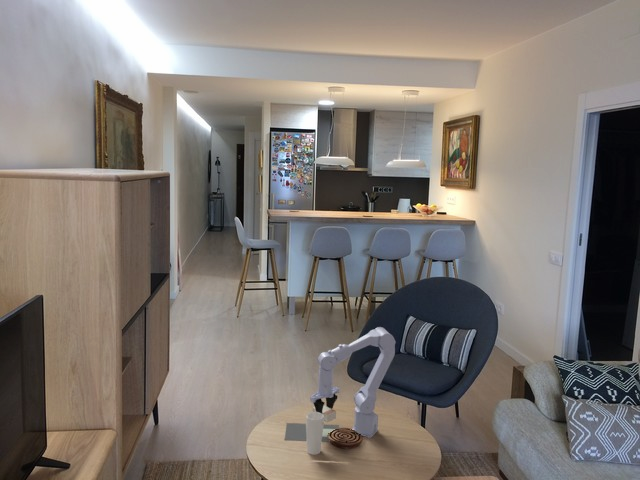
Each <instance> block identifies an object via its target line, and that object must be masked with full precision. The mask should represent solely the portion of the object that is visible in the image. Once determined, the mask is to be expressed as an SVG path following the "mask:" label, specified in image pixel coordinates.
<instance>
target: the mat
mask: <svg viewBox="0 0 640 480" xmlns="http://www.w3.org/2000/svg"><path fill="white" fill-rule="evenodd" d="M335 429H339V430H340V426H339V424H324V426H323V434H322V441H321V443H331V442H330V441H329V439H328V437H327V435H328V433H330V432H332V431H333V430H335ZM284 441H292V442H295V441H296V442H307V440H306V423H295V422H294V423H293V422H286V427H285V435H284Z"/></svg>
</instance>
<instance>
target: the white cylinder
mask: <svg viewBox="0 0 640 480" xmlns="http://www.w3.org/2000/svg"><path fill="white" fill-rule="evenodd" d="M324 423H325V421H324V415H323V414H322V413H319V412H313V411H310V412H308V413H307V414H306V417H305V424H306V440H307V441H306V453H307V454H309V455H311V456H317V455H319V454H320V453H321V450H322V442H321V441H322V434H323V426H324Z"/></svg>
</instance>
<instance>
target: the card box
mask: <svg viewBox="0 0 640 480" xmlns="http://www.w3.org/2000/svg"><path fill="white" fill-rule="evenodd" d="M312 412H316V409H315V406H313V407H312ZM322 414H323V415H324V423H325V422H326V423H329V422H331V421H333V420H336V417H337V411H336V410H334V408H332V409H331V408H329V407H327V406H326V405H325V404H324V406H323V410H322Z"/></svg>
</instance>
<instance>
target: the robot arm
mask: <svg viewBox="0 0 640 480" xmlns="http://www.w3.org/2000/svg"><path fill="white" fill-rule="evenodd" d="M396 343H397V342H396V340H395V338H394V336H393V335H392V334H391V333H389V331H388V330H386V328H385V327H381V326H378V327H376V328H375V329H371V330H370V331H368V333H366V334H365V335H363V336H361V337H359V338H358V339H356V340H354V341H352V342H351V343H349V344H346V343H340V344H337V345H338V346H336V347H335V348H332V349H329V350H327V351H323V352H321V353H320V354H319V355H318V357H317V360H316V361H317V362H318V364H319V366H318V383H317V386H318V387H317V392H315V393H314V394H312V395H311V396H310V397H309V398H310V400H309V401H310V402H311V403H312V404H313V407H315V409H316V412H319V413H322V410H323V406H324V405H325V404H326V405H325V406H327V407H329V408H331V409H334V406H335V403H336V401H337V400H338V395H336V394H339V393H340V388H339V387H337V386H335V387H333V384H334V383H333V380H334V368H335V367H336V365H337V364H339V363H341V362H342V361H344V360H347V359H349V358H350V357H351V355H352V354H353V353H354V352H357V351H359V350H361V349H364V348H366V347H368V346H371V347H378V348H379V351H380V353H379V356H378V358H377V360H376V362H375V364H374V366H373V368H372V370H371V372H370V374H369V376H368V378H367V380H366V382H365V384H364V386H363V385H362V386H361V387H360V388H359V390H358V391H357V392H356V393H354V396H353V402H354V403H355V408H354V422H353V427H352V428H351V429H352V430H355V431H357V432H358V433H359V434H361V435H360V436H361V437H362V436H363V437H366V438H369V439H371V438H372V437H373V436H374V435H375V434H376V433H377V432H378V431H379V428H378V427H379V414H378V413H376V412H374V411H375V408H376V407H375V405H376V401H377V392H378V389H379V387H380V385H381V384H382V381H383V379H384V377H386V373H387V371H388V369H389V368H390V365H391V364H392V362H393V360H394V357H395V354H396V347H395V345H396ZM322 399H325V401H326V403H325V401H323V400H322ZM359 434H358V435H359Z"/></svg>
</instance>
